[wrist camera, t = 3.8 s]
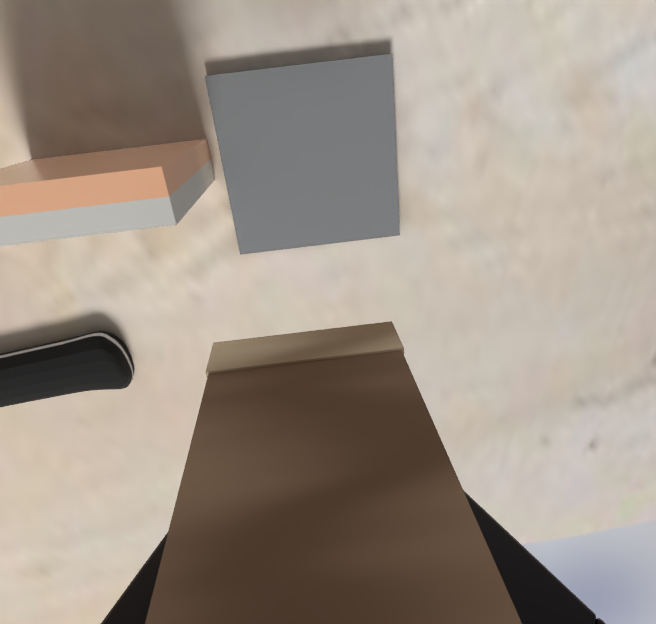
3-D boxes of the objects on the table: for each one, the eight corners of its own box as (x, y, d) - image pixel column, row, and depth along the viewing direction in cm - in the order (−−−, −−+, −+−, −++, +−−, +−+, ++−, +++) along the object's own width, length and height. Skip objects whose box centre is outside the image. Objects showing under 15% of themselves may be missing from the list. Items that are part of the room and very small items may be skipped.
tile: (206, 138, 19) (161, 166, 13) (215, 179, 20) (176, 224, 13) (31, 159, 19) (-101, 197, 13) (46, 199, 20) (-72, 254, 13)
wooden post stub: (391, 321, 11) (703, 1007, 3) (396, 455, 13) (592, 1104, 5) (213, 342, 11) (4, 1131, 3) (243, 475, 13) (173, 1183, 4)
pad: (390, 54, 18) (392, 53, 18) (398, 232, 21) (399, 235, 21) (206, 75, 18) (204, 75, 18) (241, 251, 21) (240, 254, 21)
